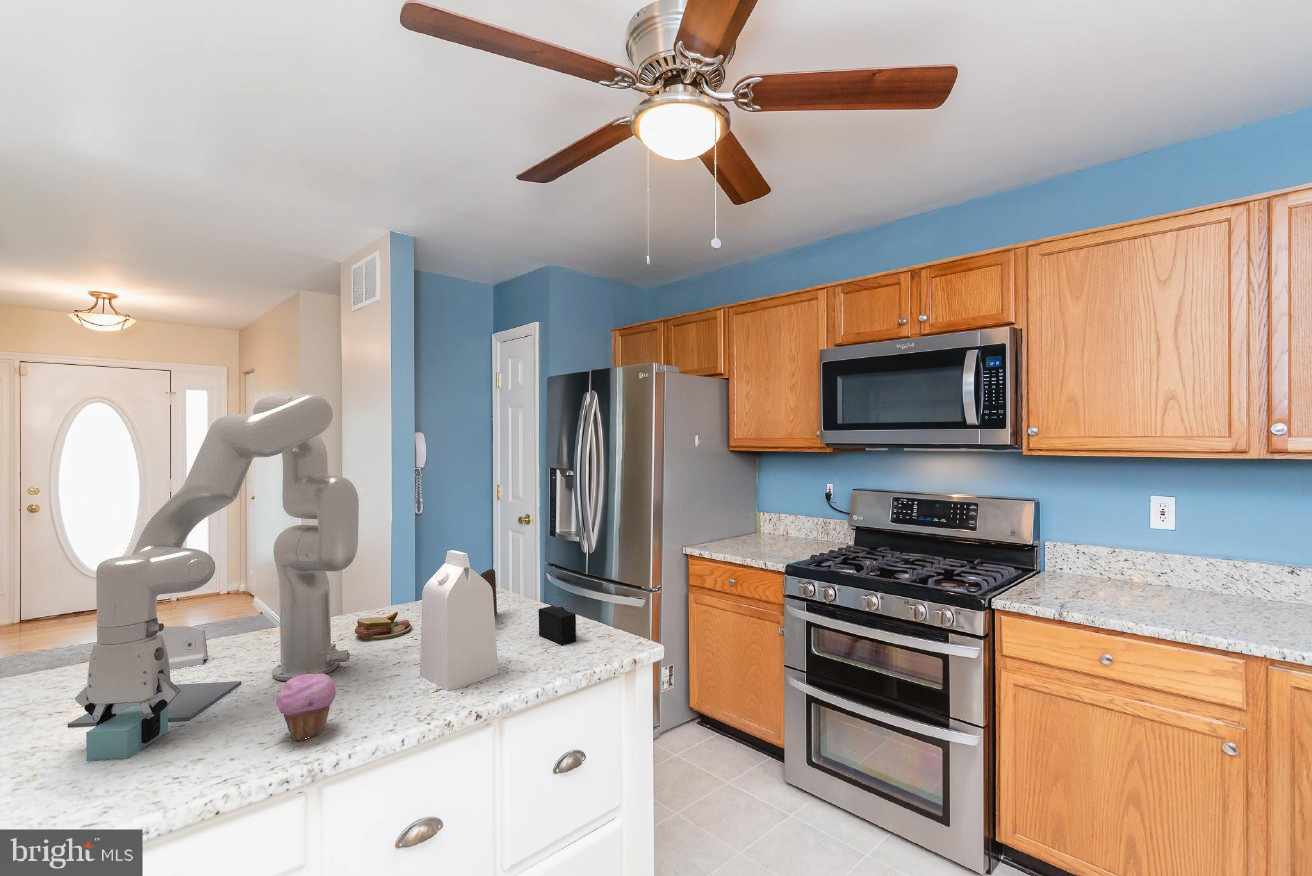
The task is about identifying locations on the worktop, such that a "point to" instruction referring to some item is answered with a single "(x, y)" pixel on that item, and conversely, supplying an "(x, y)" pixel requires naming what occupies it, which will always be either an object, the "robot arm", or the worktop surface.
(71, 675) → the worktop surface
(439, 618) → the milk
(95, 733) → the card box
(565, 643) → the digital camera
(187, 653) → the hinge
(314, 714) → the cupcake
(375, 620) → the toy sandwich meal
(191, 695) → the mat
